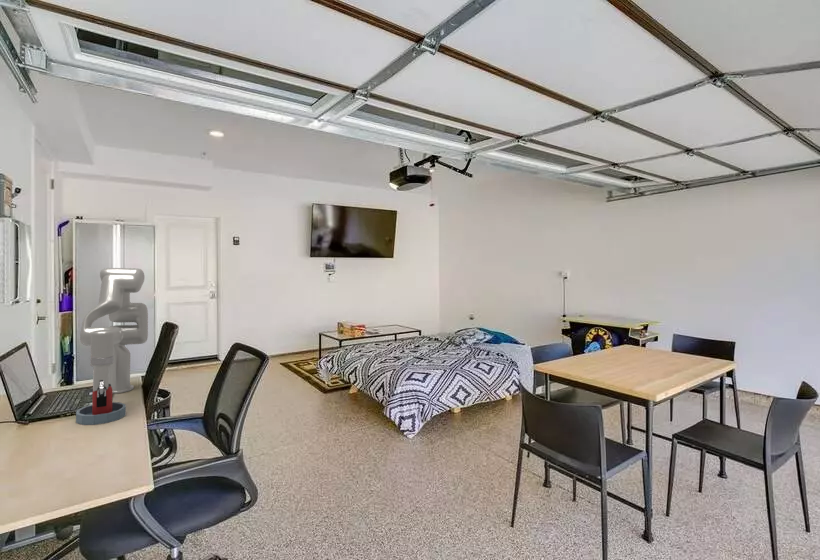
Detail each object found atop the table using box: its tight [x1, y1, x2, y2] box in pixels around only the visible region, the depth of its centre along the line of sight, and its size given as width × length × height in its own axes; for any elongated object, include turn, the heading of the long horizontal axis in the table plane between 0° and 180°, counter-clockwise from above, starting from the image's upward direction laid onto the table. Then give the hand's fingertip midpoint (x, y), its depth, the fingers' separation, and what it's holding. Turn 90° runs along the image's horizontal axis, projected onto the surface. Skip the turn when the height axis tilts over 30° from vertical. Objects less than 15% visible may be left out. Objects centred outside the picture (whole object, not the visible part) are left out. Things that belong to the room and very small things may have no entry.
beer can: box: [91, 384, 113, 415], centre depth 170 cm, size 7×7×12 cm
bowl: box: [75, 401, 127, 426], centre depth 170 cm, size 16×16×4 cm
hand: (101, 403), depth 170 cm, fingers open, 9 cm apart
